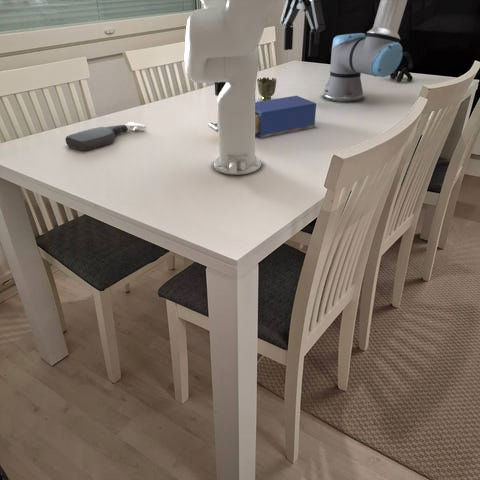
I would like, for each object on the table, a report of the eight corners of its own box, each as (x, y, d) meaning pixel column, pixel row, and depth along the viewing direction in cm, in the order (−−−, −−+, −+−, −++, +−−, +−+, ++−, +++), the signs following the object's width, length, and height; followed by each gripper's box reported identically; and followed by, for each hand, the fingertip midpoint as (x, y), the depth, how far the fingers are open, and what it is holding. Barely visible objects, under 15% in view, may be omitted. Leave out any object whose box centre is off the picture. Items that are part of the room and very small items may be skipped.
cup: (253, 101, 174) (253, 80, 169) (261, 97, 179) (262, 76, 175) (271, 103, 171) (271, 82, 166) (279, 99, 176) (279, 78, 172)
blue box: (260, 137, 138) (261, 112, 134) (244, 128, 147) (243, 104, 143) (314, 127, 146) (316, 103, 142) (295, 118, 155) (296, 95, 150)
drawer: (219, 142, 133) (218, 122, 130) (206, 132, 140) (205, 114, 137) (288, 128, 142) (289, 110, 139) (272, 120, 150) (272, 102, 147)
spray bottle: (63, 145, 135) (128, 126, 151) (84, 153, 129) (149, 132, 145) (61, 135, 134) (127, 117, 150) (83, 143, 128) (148, 123, 144)
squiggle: (400, 92, 202) (376, 71, 205) (417, 76, 202) (392, 56, 205) (405, 81, 191) (380, 59, 194) (423, 64, 191) (397, 42, 194)
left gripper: (243, 29, 118) (244, 99, 128) (219, 23, 129) (221, 88, 139) (217, 31, 115) (220, 103, 125) (195, 25, 126) (199, 91, 136)
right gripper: (342, -28, 118) (335, 57, 129) (291, -29, 137) (288, 46, 148) (319, -27, 115) (313, 60, 126) (270, -28, 134) (269, 48, 145)
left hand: (221, 95), depth 132 cm, fingers closed
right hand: (300, 52), depth 137 cm, fingers open, 13 cm apart
